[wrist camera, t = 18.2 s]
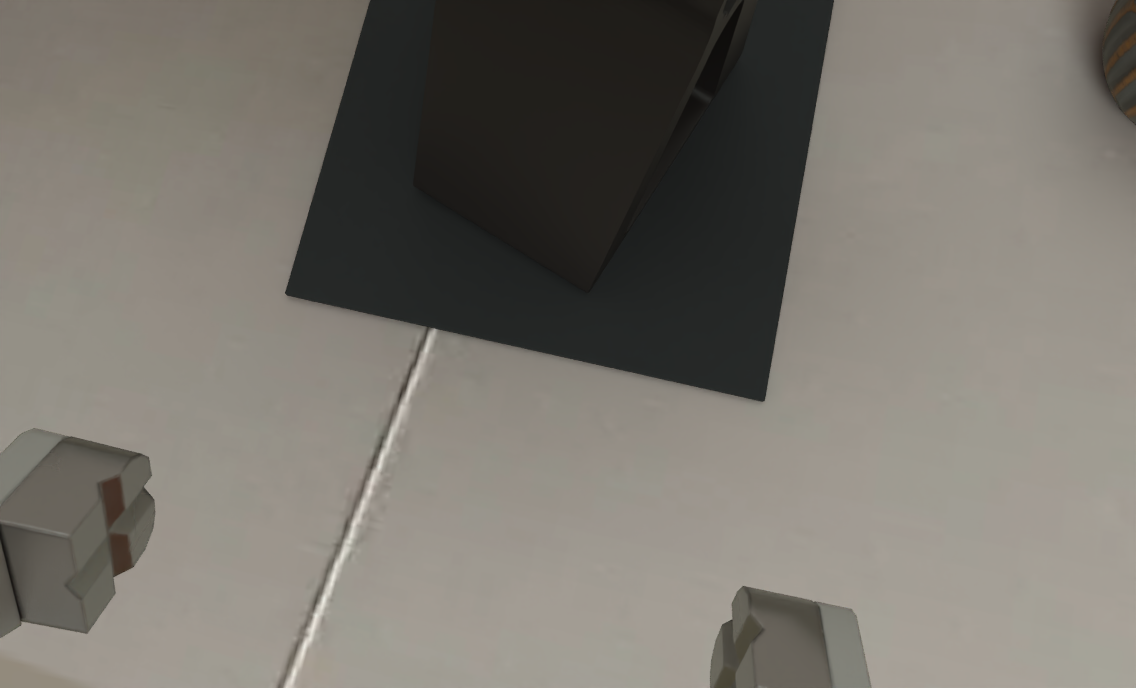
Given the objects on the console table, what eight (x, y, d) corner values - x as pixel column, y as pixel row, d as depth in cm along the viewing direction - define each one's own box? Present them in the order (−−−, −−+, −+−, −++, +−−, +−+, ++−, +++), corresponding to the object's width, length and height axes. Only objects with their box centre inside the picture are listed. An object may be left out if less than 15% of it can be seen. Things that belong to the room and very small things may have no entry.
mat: (286, 295, 25) (285, 293, 25) (407, -122, 28) (407, -127, 28) (762, 402, 25) (765, 401, 25) (836, -24, 28) (838, -28, 28)
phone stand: (586, 297, 25) (642, 109, 14) (412, 188, 26) (321, -87, 14) (741, 59, 27) (909, -291, 15) (576, -40, 27) (617, -456, 16)
